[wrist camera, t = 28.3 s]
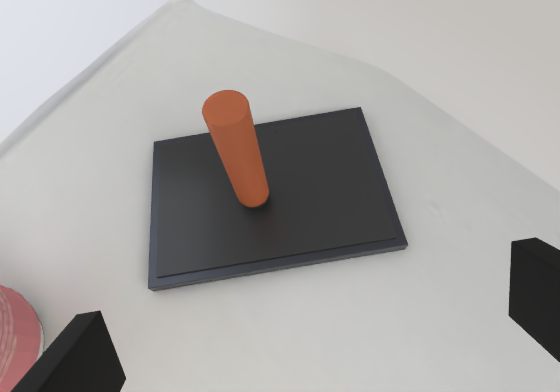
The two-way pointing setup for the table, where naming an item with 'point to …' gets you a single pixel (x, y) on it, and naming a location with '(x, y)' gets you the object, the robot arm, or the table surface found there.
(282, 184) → the plate
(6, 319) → the container
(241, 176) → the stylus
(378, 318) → the table surface
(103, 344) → the robot arm
